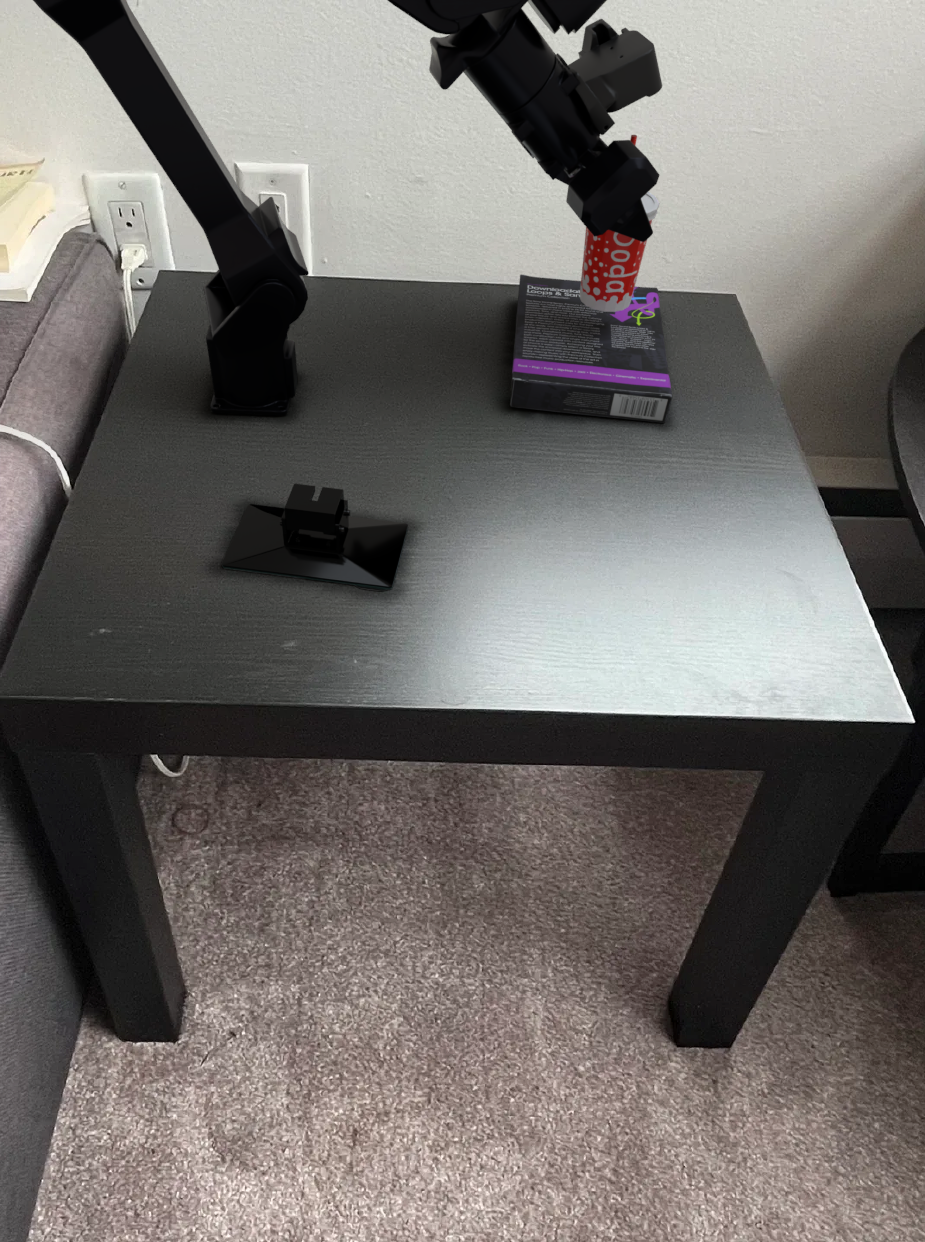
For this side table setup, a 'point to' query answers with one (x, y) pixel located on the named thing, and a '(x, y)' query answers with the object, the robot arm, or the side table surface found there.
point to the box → (589, 354)
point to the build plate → (317, 541)
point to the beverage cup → (613, 264)
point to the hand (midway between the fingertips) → (633, 220)
